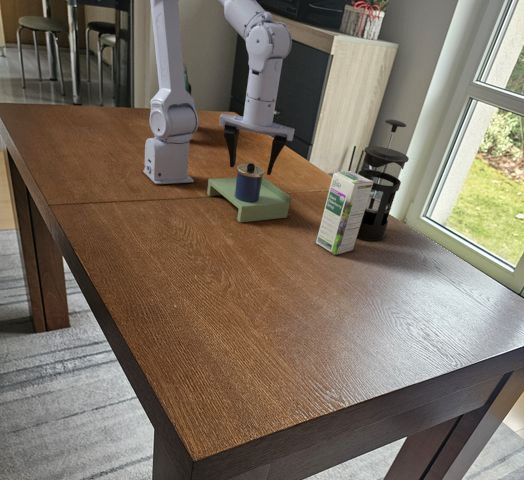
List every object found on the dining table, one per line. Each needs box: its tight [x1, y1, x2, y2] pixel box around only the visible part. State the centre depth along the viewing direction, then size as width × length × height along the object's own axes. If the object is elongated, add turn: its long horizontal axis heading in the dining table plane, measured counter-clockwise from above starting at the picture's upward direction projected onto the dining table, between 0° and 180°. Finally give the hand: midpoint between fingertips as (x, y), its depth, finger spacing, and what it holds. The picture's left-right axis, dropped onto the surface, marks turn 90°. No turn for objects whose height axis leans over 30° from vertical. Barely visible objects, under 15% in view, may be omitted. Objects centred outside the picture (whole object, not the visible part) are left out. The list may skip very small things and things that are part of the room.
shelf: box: [206, 176, 292, 223], centre depth 111 cm, size 12×15×5 cm
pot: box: [235, 162, 266, 202], centre depth 104 cm, size 6×6×7 cm
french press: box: [356, 118, 410, 242], centre depth 105 cm, size 12×9×23 cm
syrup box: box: [315, 170, 374, 256], centre depth 98 cm, size 6×6×14 cm
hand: (250, 169), depth 103 cm, fingers open, 7 cm apart
